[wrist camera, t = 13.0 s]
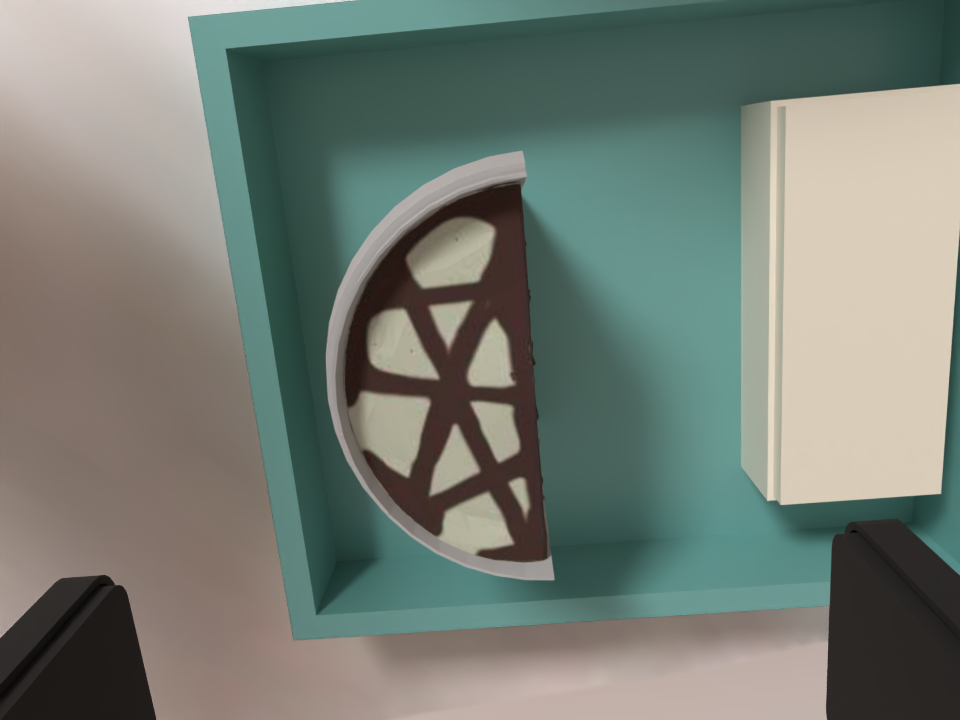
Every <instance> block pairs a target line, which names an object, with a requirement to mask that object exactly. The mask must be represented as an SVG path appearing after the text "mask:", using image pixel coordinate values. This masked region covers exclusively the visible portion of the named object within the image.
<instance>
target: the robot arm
mask: <svg viewBox="0 0 960 720" xmlns="http://www.w3.org/2000/svg"><path fill="white" fill-rule="evenodd" d="M826 713H827V720H960V575H959V574H958V573H957V572H956V571H955V570H953V569H952V568H951V567H950V566H949V565H948V564H947V563H946V562H945V561H944V560H943V559H942V558H940V557H939V556H938V555H937V554H936V553H935V552H934V551H933V550H932V549H931V548H930V547H929V546H927V545H926V544H925V543H924V542H923V541H922V540H921V539H920V538H919V537H918V536H917V535H916V534H914V533H913V532H912V531H911V530H910V529H909V528H908V527H907V526H906V525H905V524H904V523H903V522H901V521H900V520H898V519H882V520H868V521H854V522H850V523H849V524H848V525H847V526H846V529H845V533H844V534H836V535H835V536H834V538H833V540H832V551H831V581H830V610H829V639H828V669H827V699H826ZM0 720H156V716H155V712H154V707H153V703H152V699H151V694H150V690H149V686H148V681H147V677H146V673H145V668H144V664H143V660H142V655H141V651H140V647H139V642H138V638H137V634H136V629H135V625H134V621H133V616H132V612H131V608H130V603H129V599H128V595H127V592H126V590H125V589H124V587H122V586H121V585H115V584H114V582H113V581H112V580H111V578H110V577H108V576H106V575H101V576H87V577H73V578H62V579H60V580H58V581H57V582H56V583H55V584H54V585H53V586H52V587H51V588H50V589H49V590H48V591H47V592H46V593H45V594H44V595H43V596H42V597H41V598H40V599H39V600H38V601H37V602H36V603H35V604H34V605H33V606H32V607H31V608H30V609H29V610H28V611H27V612H26V613H25V614H24V615H23V616H22V617H21V618H20V619H19V620H18V621H17V622H16V623H15V624H14V625H13V626H12V627H11V628H10V629H9V630H8V631H7V632H6V633H5V634H4V635H3V636H2V637H1V638H0Z"/></svg>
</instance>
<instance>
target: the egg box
mask: <svg viewBox="0 0 960 720" xmlns="http://www.w3.org/2000/svg"><path fill="white" fill-rule="evenodd" d="M959 232H960V84H953V85H941V86H930V87H919V88H908V89H897V90H886V91H875V92H864V93H853V94H842V95H831V96H820V97H809V98H798V99H787V100H776V101H768V102H762V103H755V104H749V105H743V106H741V467H742V468H743V470H744V471H745V472H746V474H747V475H748V476H749V477H750V479H751V480H752V481H753V483H754V484H755V485H756V487H757V488H758V489H759V491H760V492H761V493H762V494H763V496H764V497H765V498H766V500H767V501H772V500H777V501H778V502H779V504H780V505H789V504H803V503H817V502H831V501H845V500H860V499H874V498H888V497H902V496H917V495H931V494H941V486H942V472H943V458H944V444H945V430H946V416H947V402H948V388H949V373H950V359H951V345H952V331H953V317H954V303H955V289H956V275H957V261H958V246H959Z"/></svg>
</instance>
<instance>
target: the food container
mask: <svg viewBox="0 0 960 720" xmlns="http://www.w3.org/2000/svg"><path fill="white" fill-rule="evenodd" d="M526 178H527V173H526V170H525V160H524V155H523V151H517V152H511V153H506V154H500V155H495V156H489V157H486V158H483V159H480V160H477V161H474V162H471V163H469V164H466V165H463V166H460V167H457V168H454V169H452V170H450V171H449V172H447V173H445V174H443V175H441V176H439V177H437V178H436V179H434V180H432V181H430V182H428V183H426V184H424V185H423V186H421V187H420V188H419V189H417V190H416V191H415V192H413V193H412V194H411V195H409V196H408V197H407V198H406V199H404V200H403V201H402V202H400V203H399V204H398V205H396V206H395V207H394V208H393V209H392V210H391V211H390V212H389V213H388V214H387V215H386V217H385V218H384V219H383V220H382V221H381V222H380V223H379V224H378V225H377V226H376V227H375V228H374V229H373V230H372V231H371V233H370V234H369V236H368V237H367V238H366V240H365V241H364V243H363V244H362V246H361V247H360V249H359V250H358V252H357V253H356V255H355V256H354V258H353V259H352V261H351V263H350V265H349V267H348V270H347V272H346V274H345V276H344V278H343V280H342V283H341V285H340V287H339V289H338V292H337V295H336V299H335V303H334V306H333V310H332V314H331V317H330V321H329V328H328V338H327V348H326V375H327V392H328V402H329V407H330V411H331V416H332V420H333V425H334V429H335V432H336V435H337V437H338V440H339V442H340V445H341V447H342V450H343V452H344V455H345V457H346V460H347V462H348V463H349V465H350V467H351V468H352V470H353V472H354V473H355V475H356V477H357V479H358V480H359V482H360V484H361V485H362V487H363V488H364V489H365V491H366V492H367V493H368V494H369V495H370V497H371V498H372V499H373V500H374V501H375V503H376V504H377V505H378V506H379V508H380V509H381V510H382V511H383V512H384V513H385V514H386V515H387V516H388V517H389V518H390V519H391V520H392V521H393V522H394V523H396V524H397V525H398V526H399V527H400V528H401V529H402V530H403V531H405V532H406V533H407V534H408V535H409V536H410V537H411V538H413V539H415V540H416V541H418V542H419V543H421V544H422V545H424V546H425V547H427V548H428V549H430V550H432V551H433V552H435V553H436V554H438V555H440V556H442V557H445V558H447V559H449V560H451V561H453V562H456V563H458V564H460V565H462V566H464V567H467V568H471V569H474V570H477V571H481V572H484V573H488V574H491V575H494V576H501V577H508V578H515V579H521V580H554V572H553V564H552V556H551V548H550V540H549V532H548V524H547V516H546V508H545V500H544V499H545V497H544V492H543V477H542V473H541V459H540V456H541V455H540V447H539V445H540V439H539V437H538V425H537V421H538V418H539V414H538V409H537V406H536V396H535V378H534V369H533V366H534V365H535V364H536V361H535V359H534V357H533V354H532V353H533V341H532V338H531V324H530V305H529V303H530V300H531V296H530V294H529V293H530V289H529V286H528V272H527V258H526V245H527V243H526V240H525V230H524V215H523V205H522V194H521V190H522V188H523V185H524V183H525V180H526Z"/></svg>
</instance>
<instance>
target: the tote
mask: <svg viewBox="0 0 960 720" xmlns="http://www.w3.org/2000/svg"><path fill="white" fill-rule="evenodd" d="M188 20H189V26H190V32H191V38H192V44H193V50H194V56H195V62H196V68H197V73H198V79H199V85H200V91H201V97H202V103H203V109H204V115H205V121H206V126H207V132H208V138H209V144H210V150H211V156H212V162H213V168H214V174H215V180H216V185H217V191H218V197H219V203H220V209H221V215H222V221H223V227H224V233H225V238H226V244H227V250H228V256H229V262H230V268H231V274H232V280H233V286H234V292H235V297H236V303H237V309H238V315H239V321H240V327H241V333H242V339H243V345H244V350H245V356H246V362H247V368H248V374H249V380H250V386H251V392H252V398H253V404H254V409H255V415H256V421H257V427H258V433H259V439H260V445H261V451H262V457H263V462H264V468H265V474H266V480H267V486H268V492H269V498H270V504H271V510H272V516H273V521H274V527H275V533H276V539H277V545H278V551H279V557H280V563H281V569H282V574H283V580H284V586H285V592H286V598H287V604H288V610H289V616H290V622H291V628H292V633H293V639H294V640H308V639H323V638H339V637H354V636H370V635H385V634H400V633H416V632H431V631H447V630H462V629H477V628H493V627H508V626H524V625H539V624H554V623H570V622H585V621H600V620H616V619H631V618H647V617H662V616H677V615H693V614H708V613H724V612H739V611H754V610H770V609H785V608H801V607H816V606H830V581H831V551H832V540H833V538H834V536H835V535H836V534H844V533H845V529H846V526H847V525H848V524H849V523H850V522H854V521H868V520H882V519H898V520H900V521H901V522H903V523H904V524H905V525H906V526H907V527H908V528H909V529H910V530H911V531H912V532H913V533H914V534H916V535H917V536H918V537H919V538H920V539H921V540H922V541H923V542H924V543H925V544H926V545H927V546H929V547H930V548H931V549H932V550H933V551H934V552H935V553H936V554H937V555H938V556H939V557H940V558H942V559H943V560H944V561H945V562H946V563H947V564H948V565H949V566H950V567H951V568H952V569H953V570H955V571H956V572H957V573H958V574H959V575H960V232H959V246H958V261H957V275H956V289H955V303H954V317H953V331H952V345H951V359H950V373H949V388H948V402H947V416H946V430H945V444H944V458H943V472H942V486H941V494H931V495H917V496H902V497H888V498H874V499H860V500H845V501H831V502H817V503H803V504H789V505H780V504H779V502H778V501H777V500H772V501H767V500H766V498H765V497H764V496H763V494H762V493H761V492H760V491H759V489H758V488H757V487H756V485H755V484H754V483H753V481H752V480H751V479H750V477H749V476H748V475H747V474H746V472H745V471H744V470H743V468H742V467H741V106H743V105H749V104H755V103H762V102H768V101H776V100H787V99H798V98H809V97H820V96H831V95H842V94H853V93H864V92H875V91H886V90H897V89H908V88H919V87H930V86H941V85H953V84H960V0H356V1H346V2H336V3H325V4H315V5H305V6H295V7H285V8H274V9H264V10H254V11H244V12H234V13H223V14H213V15H203V16H193V17H188ZM517 151H523V155H524V160H525V170H526V173H527V178H526V180H525V183H524V185H523V188H522V190H521V194H522V205H523V215H524V230H525V240H526V243H527V245H526V258H527V272H528V286H529V289H530V293H529V294H530V296H531V300H530V303H529V305H530V324H531V338H532V341H533V353H532V354H533V357H534V359H535V361H536V364H535V365H534V366H533V369H534V378H535V396H536V406H537V409H538V414H539V418H538V421H537V425H538V437H539V439H540V445H539V447H540V455H541V456H540V459H541V473H542V477H543V492H544V497H545V499H544V500H545V508H546V516H547V524H548V532H549V540H550V548H551V556H552V564H553V572H554V580H521V579H515V578H508V577H501V576H494V575H491V574H488V573H484V572H481V571H477V570H474V569H471V568H467V567H464V566H462V565H460V564H458V563H456V562H453V561H451V560H449V559H447V558H445V557H442V556H440V555H438V554H436V553H435V552H433V551H432V550H430V549H428V548H427V547H425V546H424V545H422V544H421V543H419V542H418V541H416V540H415V539H413V538H411V537H410V536H409V535H408V534H407V533H406V532H405V531H403V530H402V529H401V528H400V527H399V526H398V525H397V524H396V523H394V522H393V521H392V520H391V519H390V518H389V517H388V516H387V515H386V514H385V513H384V512H383V511H382V510H381V509H380V508H379V506H378V505H377V504H376V503H375V501H374V500H373V499H372V498H371V497H370V495H369V494H368V493H367V492H366V491H365V489H364V488H363V487H362V485H361V484H360V482H359V480H358V479H357V477H356V475H355V473H354V472H353V470H352V468H351V467H350V465H349V463H348V462H347V460H346V457H345V455H344V452H343V450H342V447H341V445H340V442H339V440H338V437H337V435H336V432H335V429H334V425H333V420H332V416H331V411H330V407H329V402H328V392H327V375H326V348H327V338H328V328H329V321H330V317H331V314H332V310H333V306H334V303H335V299H336V295H337V292H338V289H339V287H340V285H341V283H342V280H343V278H344V276H345V274H346V272H347V270H348V267H349V265H350V263H351V261H352V259H353V258H354V256H355V255H356V253H357V252H358V250H359V249H360V247H361V246H362V244H363V243H364V241H365V240H366V238H367V237H368V236H369V234H370V233H371V231H372V230H373V229H374V228H375V227H376V226H377V225H378V224H379V223H380V222H381V221H382V220H383V219H384V218H385V217H386V215H387V214H388V213H389V212H390V211H391V210H392V209H393V208H394V207H395V206H396V205H398V204H399V203H400V202H402V201H403V200H404V199H406V198H407V197H408V196H409V195H411V194H412V193H413V192H415V191H416V190H417V189H419V188H420V187H421V186H423V185H424V184H426V183H428V182H430V181H432V180H434V179H436V178H437V177H439V176H441V175H443V174H445V173H447V172H449V171H450V170H452V169H454V168H457V167H460V166H463V165H466V164H469V163H471V162H474V161H477V160H480V159H483V158H486V157H489V156H495V155H500V154H506V153H511V152H517Z"/></svg>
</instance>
